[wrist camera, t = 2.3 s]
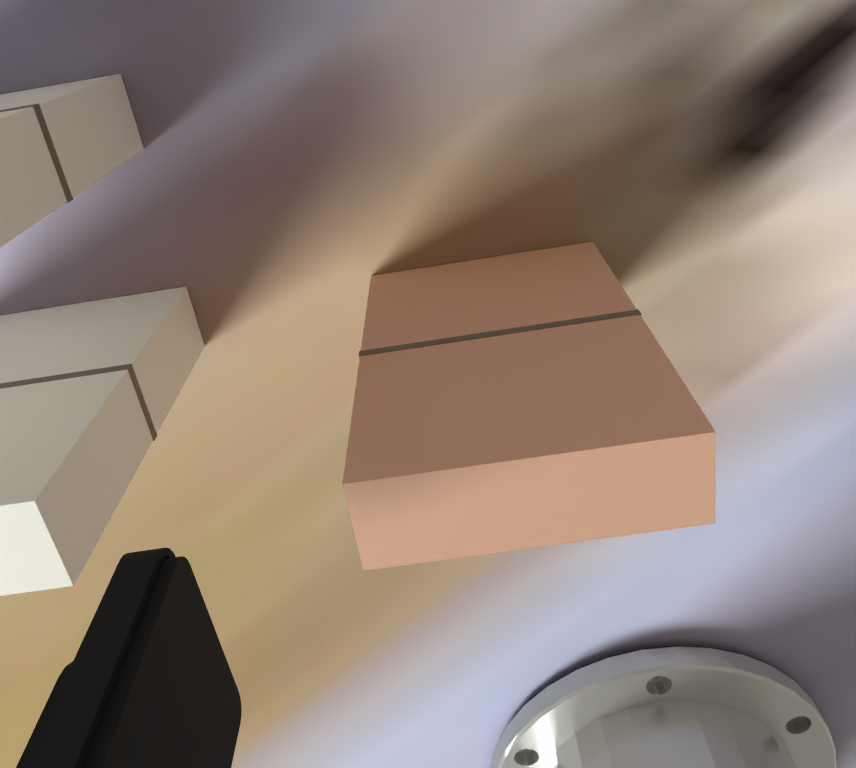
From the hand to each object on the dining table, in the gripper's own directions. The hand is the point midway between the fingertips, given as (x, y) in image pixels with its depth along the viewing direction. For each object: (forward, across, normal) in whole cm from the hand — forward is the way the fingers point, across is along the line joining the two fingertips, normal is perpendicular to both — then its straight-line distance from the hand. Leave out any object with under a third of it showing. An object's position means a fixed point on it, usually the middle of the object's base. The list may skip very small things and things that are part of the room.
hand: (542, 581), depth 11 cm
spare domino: (+13, 0, +1) cm, 13 cm away
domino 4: (+13, +11, 0) cm, 17 cm away
